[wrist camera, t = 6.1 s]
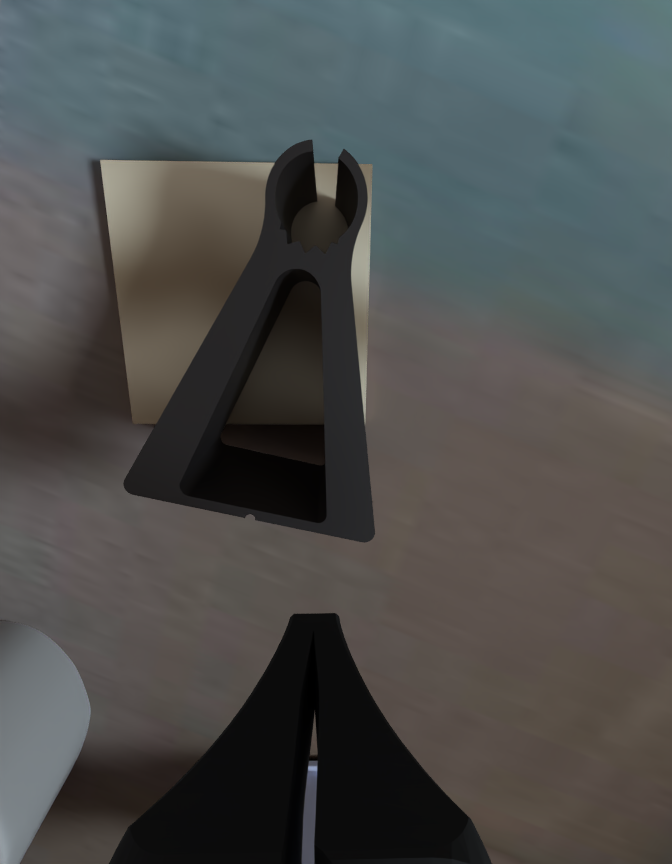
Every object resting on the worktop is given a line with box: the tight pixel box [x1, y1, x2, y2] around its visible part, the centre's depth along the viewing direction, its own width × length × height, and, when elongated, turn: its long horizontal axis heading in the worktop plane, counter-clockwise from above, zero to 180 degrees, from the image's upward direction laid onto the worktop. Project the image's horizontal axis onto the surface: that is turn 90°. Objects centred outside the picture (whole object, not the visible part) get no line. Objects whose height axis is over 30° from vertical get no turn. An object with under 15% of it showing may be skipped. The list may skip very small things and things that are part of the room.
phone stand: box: [124, 140, 375, 542], centre depth 17 cm, size 9×6×12 cm
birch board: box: [100, 160, 372, 424], centre depth 19 cm, size 11×11×1 cm
